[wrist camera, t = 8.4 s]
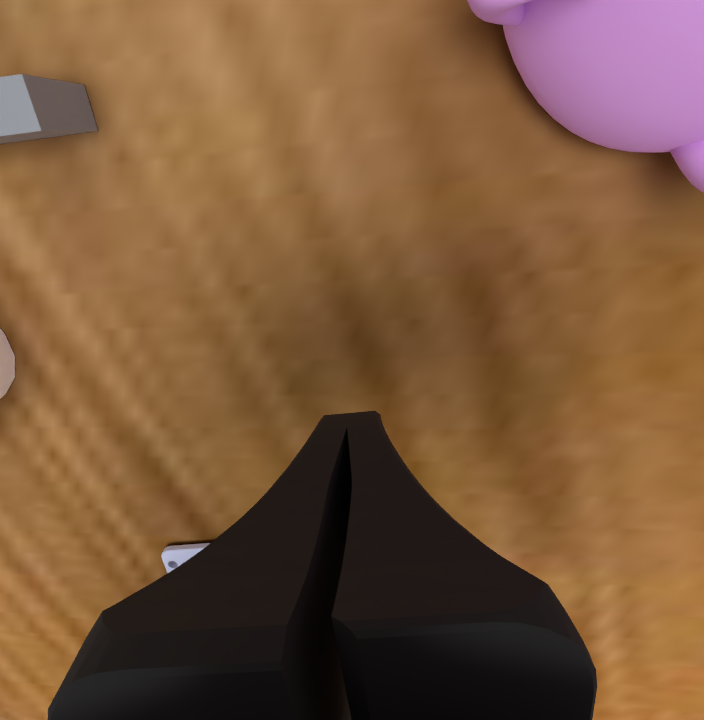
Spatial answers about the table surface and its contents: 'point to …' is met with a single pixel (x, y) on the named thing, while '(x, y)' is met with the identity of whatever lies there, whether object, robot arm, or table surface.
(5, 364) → the shot glass
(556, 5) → the teapot
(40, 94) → the l-shaped bracket
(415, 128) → the table surface
